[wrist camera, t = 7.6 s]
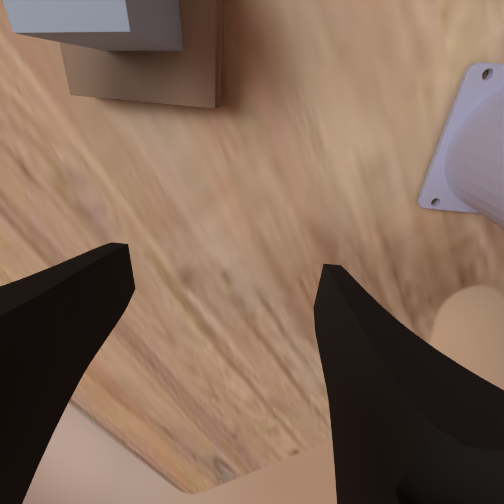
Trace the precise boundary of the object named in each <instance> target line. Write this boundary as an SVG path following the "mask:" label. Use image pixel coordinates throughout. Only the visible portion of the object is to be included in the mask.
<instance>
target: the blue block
mask: <svg viewBox="0 0 504 504" xmlns="http://www.w3.org/2000/svg"><path fill="white" fill-rule="evenodd" d="M3 3H4V6H5V9H6V12H7V15H8V18H9V22H10V25H11V28H12V31H13V33H17V34H22V35H27V36H32V37H37V38H42V39H47V40H52V41H57V42H62V43H67V44H72V45H78V46H83V47H88V48H93V49H98V50H103V51H183V43H182V32H181V22H180V11H179V1H178V0H3Z"/></svg>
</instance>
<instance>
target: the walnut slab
mask: <svg viewBox="0 0 504 504" xmlns="http://www.w3.org/2000/svg"><path fill="white" fill-rule="evenodd" d="M178 1H179V11H180V22H181V32H182V43H183V51H103V50H98V49H93V48H88V47H83V46H78V45H72V44H67V43H62V42H60V46H61V51H62V56H63V61H64V66H65V70H66V75H67V80H68V85H69V90H70V94H71V95H76V96H87V97H98V98H108V99H119V100H130V101H140V102H151V103H162V104H172V105H183V106H194V107H204V108H217V107H220V106H221V92H222V47H223V2H224V0H178Z"/></svg>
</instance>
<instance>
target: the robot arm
mask: <svg viewBox="0 0 504 504" xmlns="http://www.w3.org/2000/svg"><path fill="white" fill-rule="evenodd" d="M486 69H487V70H488V72H489V73H488V76H487V78H486V79H484V80H483V79H482V74H483V72H484V71H485V70H486ZM435 198H437V201H436V202H435V203H434V204H431V202H432V200H433V199H435ZM417 203H418V205H419V206H420V207H422V208H425V209H435V210H446V211H457V212H467V213H478V214H482V215H484V216H485V217H487V218H488V219H490V220H491V221H493V222H495V223H496V224H498V225H499V226H501V227H502V228H504V64H498V63H484V62H480V63H474V64H472V65H470V66H469V67H468V68H467V69H466V71H465V73H464V75H463V78H462V81H461V83H460V86H459V89H458V91H457V94H456V97H455V99H454V102H453V105H452V108H451V110H450V113H449V116H448V118H447V121H446V124H445V126H444V129H443V132H442V134H441V137H440V140H439V143H438V145H437V148H436V151H435V153H434V156H433V159H432V161H431V164H430V167H429V169H428V172H427V175H426V177H425V180H424V183H423V186H422V188H421V191H420V194H419V196H418V199H417ZM134 291H135V284H134V278H133V272H132V266H131V260H130V253H129V247H128V244H122V243H109V244H106V245H103V246H100V247H98V248H95V249H93V250H90V251H88V252H86V253H83V254H81V255H79V256H76V257H74V258H72V259H69V260H67V261H65V262H63V263H60V264H58V265H56V266H53V267H51V268H48V269H46V270H43V271H40V272H38V273H35V274H33V275H30V276H28V277H25V278H23V279H20V280H17V281H15V282H12V283H9V284H6V285H3V286H0V504H22V503H23V500H24V498H25V496H26V493H27V491H28V488H29V486H30V484H31V481H32V479H33V477H34V474H35V472H36V469H37V467H38V465H39V463H40V461H41V458H42V456H43V454H44V452H45V450H46V447H47V445H48V443H49V441H50V439H51V436H52V434H53V432H54V430H55V428H56V426H57V424H58V422H59V420H60V418H61V416H62V414H63V412H64V410H65V408H66V406H67V404H68V402H69V400H70V398H71V396H72V394H73V393H74V391H75V389H76V387H77V385H78V383H79V381H80V379H81V378H82V376H83V374H84V372H85V371H86V369H87V367H88V366H89V364H90V362H91V361H92V359H93V358H94V356H95V355H96V353H97V352H98V351H99V349H100V348H101V346H102V345H103V343H104V342H105V340H106V339H107V337H108V336H109V334H110V333H111V331H112V330H113V328H114V327H115V325H116V324H117V322H118V321H119V319H120V318H121V316H122V315H123V313H124V311H125V310H126V308H127V306H128V304H129V302H130V299H131V297H132V295H133V293H134ZM314 321H315V333H316V338H317V343H318V348H319V353H320V358H321V363H322V368H323V373H324V378H325V383H326V388H327V394H328V400H329V409H330V419H331V429H332V440H333V452H334V463H335V477H336V492H337V504H504V390H502V389H500V388H499V387H497V386H495V385H493V384H491V383H490V382H488V381H486V380H484V379H483V378H481V377H479V376H478V375H476V374H474V373H473V372H471V371H469V370H468V369H466V368H464V367H463V366H461V365H459V364H458V363H456V362H455V361H453V360H452V359H450V358H449V357H447V356H446V355H444V354H442V353H441V352H439V351H438V350H436V349H435V348H433V347H432V346H431V345H429V344H428V343H426V342H425V341H424V340H422V339H421V338H420V337H418V336H417V335H416V334H414V333H413V332H412V331H410V330H409V329H408V328H407V327H405V326H404V325H403V324H402V323H400V322H399V321H398V320H397V319H396V318H395V317H393V316H392V315H391V314H390V313H389V312H388V311H387V310H385V309H384V308H383V307H382V306H381V305H380V304H379V303H378V302H377V301H376V300H375V299H374V298H373V297H372V296H371V295H370V294H368V293H367V292H366V291H365V290H364V288H363V287H362V286H361V285H360V284H359V283H358V282H357V281H356V280H355V279H354V278H353V277H352V276H351V275H350V274H349V273H348V272H347V271H346V270H345V269H344V268H343V267H342V266H341V265H331V264H324V265H323V269H322V274H321V278H320V282H319V287H318V291H317V295H316V300H315V304H314Z"/></svg>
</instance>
